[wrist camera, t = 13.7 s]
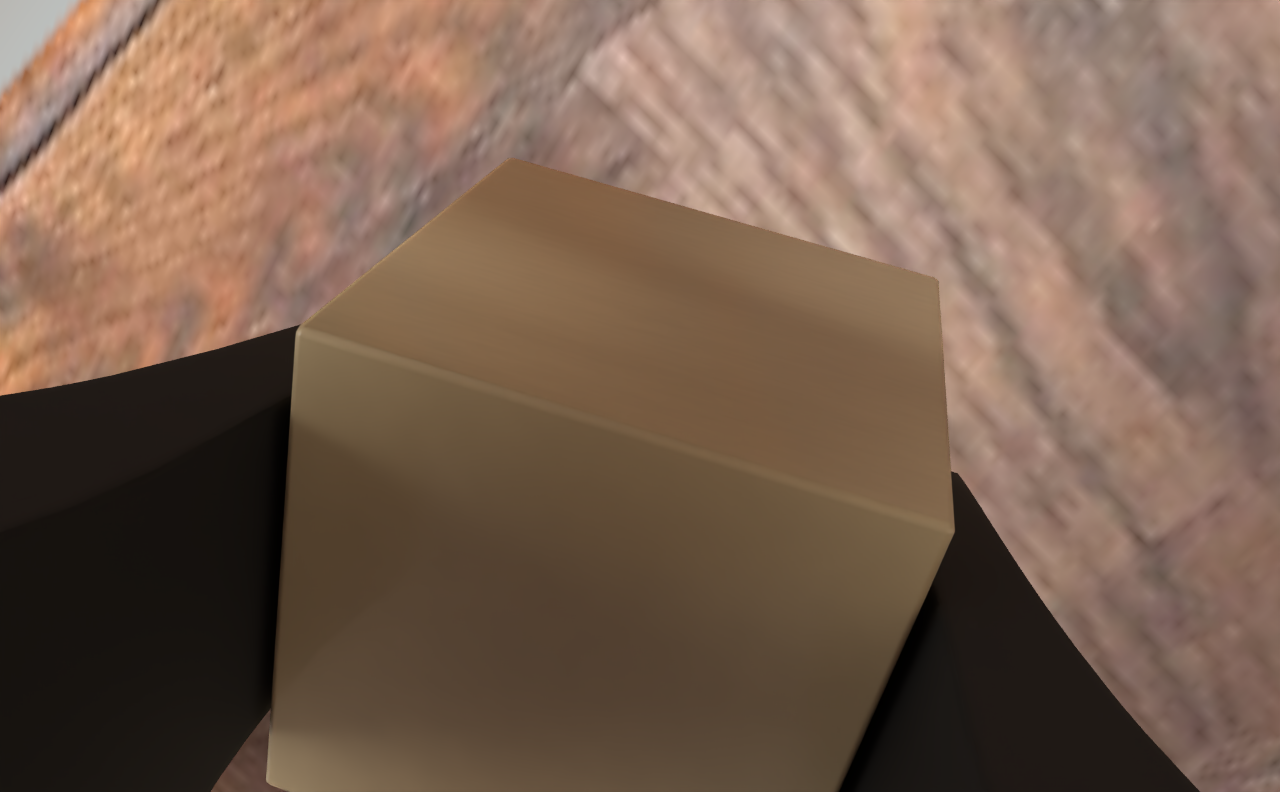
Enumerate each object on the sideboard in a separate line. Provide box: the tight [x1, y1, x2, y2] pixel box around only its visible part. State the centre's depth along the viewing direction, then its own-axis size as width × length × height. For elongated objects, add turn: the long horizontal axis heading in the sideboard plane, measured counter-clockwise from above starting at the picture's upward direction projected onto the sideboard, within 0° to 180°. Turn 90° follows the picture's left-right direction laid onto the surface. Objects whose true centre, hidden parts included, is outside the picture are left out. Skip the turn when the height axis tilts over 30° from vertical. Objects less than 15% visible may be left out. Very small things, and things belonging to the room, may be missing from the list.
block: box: [266, 158, 955, 792], centre depth 10 cm, size 4×4×4 cm
